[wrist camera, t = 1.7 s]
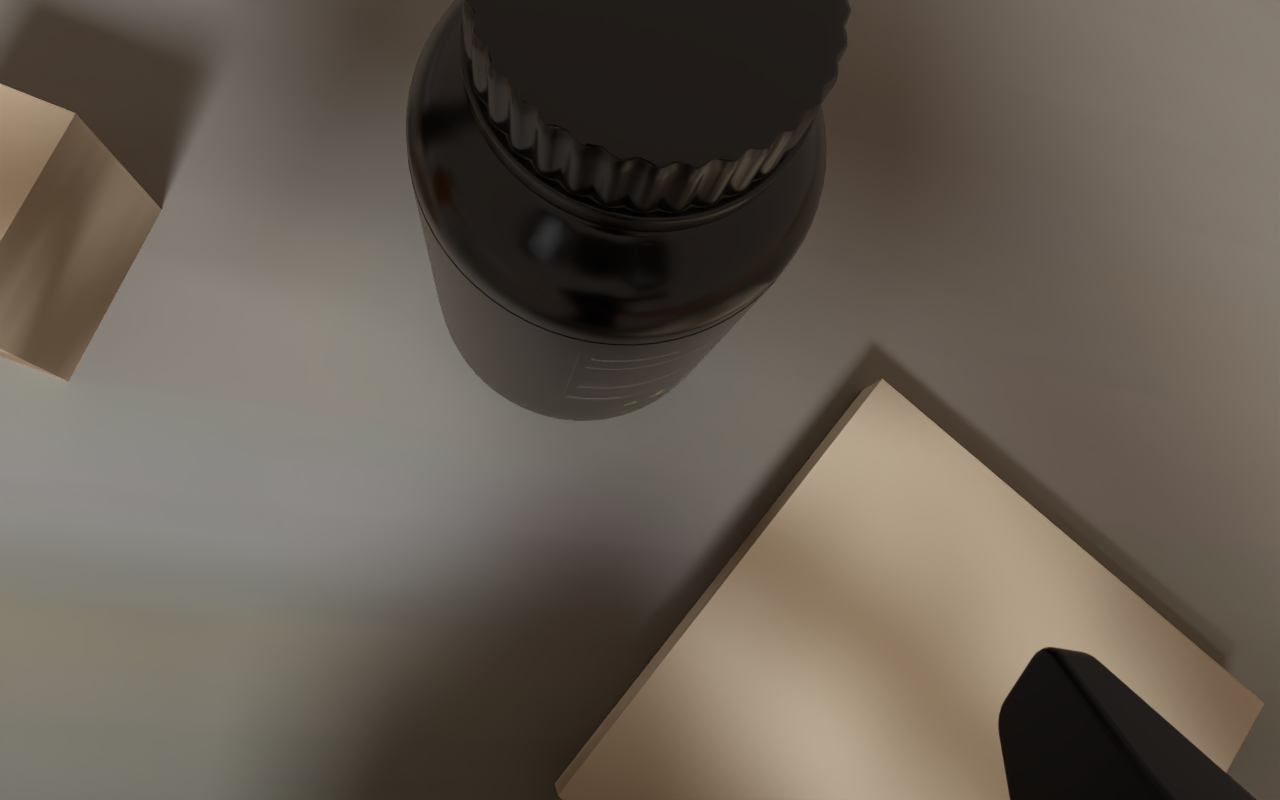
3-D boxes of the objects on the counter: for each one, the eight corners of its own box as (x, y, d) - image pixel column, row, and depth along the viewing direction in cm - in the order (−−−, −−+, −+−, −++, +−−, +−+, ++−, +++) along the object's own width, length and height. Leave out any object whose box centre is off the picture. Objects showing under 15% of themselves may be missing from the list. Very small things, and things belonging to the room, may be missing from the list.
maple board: (969, 1145, 20) (999, 1179, 18) (554, 783, 20) (558, 795, 19) (1225, 697, 23) (1264, 703, 21) (862, 389, 23) (882, 378, 22)
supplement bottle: (389, 234, 22) (262, -172, 10) (631, 127, 23) (758, -329, 12) (521, 480, 21) (547, 346, 9) (761, 353, 23) (1035, 104, 11)
